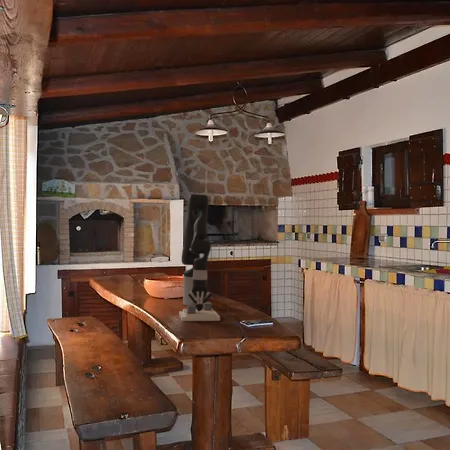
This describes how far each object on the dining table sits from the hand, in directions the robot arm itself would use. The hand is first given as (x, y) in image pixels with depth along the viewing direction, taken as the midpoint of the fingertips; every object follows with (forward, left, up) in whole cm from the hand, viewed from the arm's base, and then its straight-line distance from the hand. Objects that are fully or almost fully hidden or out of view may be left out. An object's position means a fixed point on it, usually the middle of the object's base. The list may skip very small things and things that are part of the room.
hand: (199, 311), depth 289 cm
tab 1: (0, -4, -2) cm, 5 cm away
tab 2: (-9, +6, -2) cm, 11 cm away
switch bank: (-4, +1, -4) cm, 6 cm away
